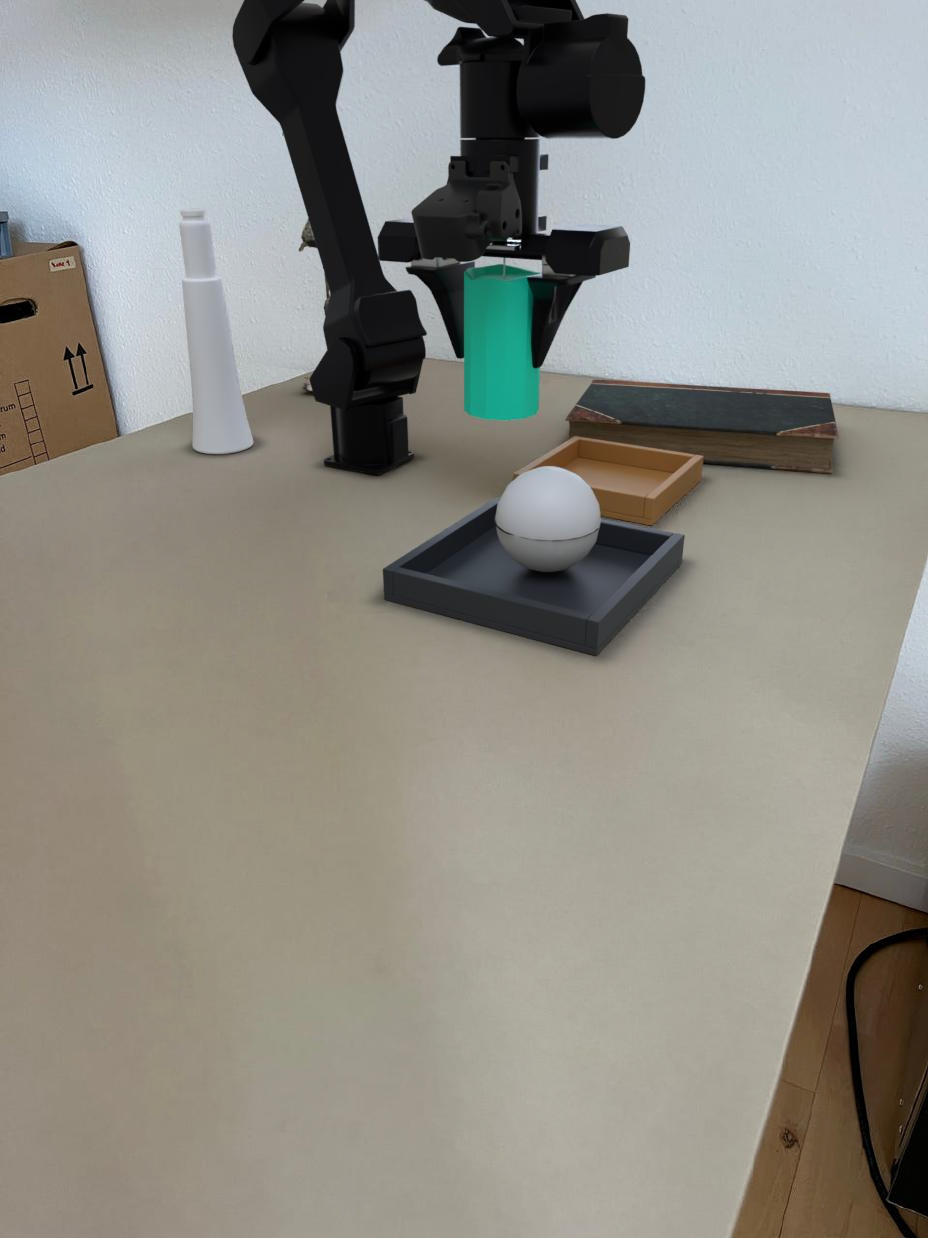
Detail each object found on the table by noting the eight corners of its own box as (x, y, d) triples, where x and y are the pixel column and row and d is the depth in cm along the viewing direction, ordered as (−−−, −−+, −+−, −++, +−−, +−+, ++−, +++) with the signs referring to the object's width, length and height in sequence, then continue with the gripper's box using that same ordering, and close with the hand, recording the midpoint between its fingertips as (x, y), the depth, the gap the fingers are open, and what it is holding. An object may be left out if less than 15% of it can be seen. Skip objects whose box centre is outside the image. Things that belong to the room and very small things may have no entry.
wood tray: (512, 498, 81) (512, 473, 80) (573, 458, 90) (574, 435, 89) (651, 525, 75) (654, 498, 74) (701, 480, 85) (704, 455, 84)
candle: (461, 400, 78) (461, 244, 72) (533, 399, 78) (539, 244, 72) (466, 421, 72) (466, 255, 67) (543, 419, 73) (550, 254, 67)
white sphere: (498, 545, 71) (499, 450, 67) (598, 549, 70) (604, 454, 66) (483, 605, 62) (483, 499, 58) (597, 610, 61) (604, 504, 57)
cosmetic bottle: (225, 458, 91) (193, 212, 81) (179, 449, 94) (143, 210, 84) (266, 442, 96) (241, 207, 86) (221, 433, 99) (192, 205, 88)
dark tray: (384, 599, 64) (382, 568, 63) (494, 524, 76) (494, 497, 75) (596, 656, 57) (598, 622, 56) (681, 563, 69) (685, 534, 67)
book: (562, 453, 92) (832, 474, 86) (564, 416, 90) (839, 436, 84) (592, 407, 107) (824, 423, 100) (594, 375, 105) (830, 389, 99)
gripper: (324, 140, 65) (340, 369, 72) (568, 140, 56) (558, 400, 63) (416, 138, 73) (421, 343, 80) (640, 138, 64) (624, 368, 72)
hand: (498, 362), depth 74 cm, fingers closed on candle, 6 cm apart
